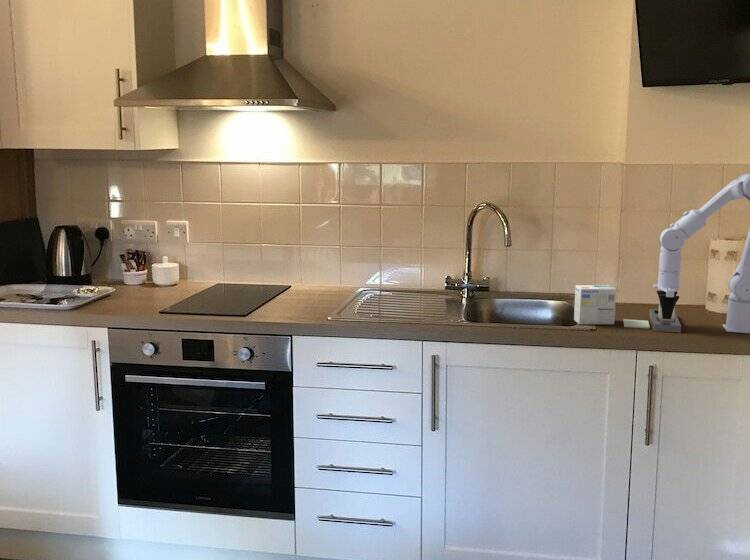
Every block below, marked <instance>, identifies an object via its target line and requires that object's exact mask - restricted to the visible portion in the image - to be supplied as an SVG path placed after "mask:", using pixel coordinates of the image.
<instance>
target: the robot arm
mask: <svg viewBox="0 0 750 560" xmlns="http://www.w3.org/2000/svg"><path fill="white" fill-rule="evenodd" d="M745 198H746V199H747V200H748V201H749V202H750V172H745V173H742V174H740V175H739V176H738V177H737V179H734V180H733V179H732V181H730V182H729V183H728V184H727V185H726V186H724V187H723V188H722V189H720V190H719V192H717V193H716V194H714V196H713V197H712V198H711V199H709V200H708V201H706V203H705V204H704V205H702V206H701V207H700V208H699V209H691V210H686V211H685V212H683V216H682V217H681V218H679V219H678V220H677V221H676V222H674V223H673V222H672V223H671V224H669V226H670V227H668V228H666V229H664V230H662V232H660V235H659V236H658V239H659V243H660V244H661V245H660V254H659V259H658V260H659V262H658V274H657V275H658V277H657V278H658V279H657V284H653V285H652V287H653V288H654V289H657V290H656V294H657V296H658V300H659V304H661V307H662V317H663V319H671V317H672V314H673V310H674V307H675V308H676V304H677V302H678V301H679V299H680V296H679V295H677V294H678V291H679V290H680V288H681V287H680V278H681V276H680V275H681V263H682V262H681V261H682V260H681V259H682V255H681V254H682V253H681V252H682V247H683V246H684V244H685V241H686V240H689V239H690V238H691V237H693V236H694V235H695V234H696V233H697V232H699V231H700V230H701V229H702V228H704V227H705V226H706V224H707V218H709V217H710V216H712V215H713V214H714V213H716V212H717V211H718V210H720V209H721V208H723V207H724V206H725V205H727V204H728V203H729V202H731V201H733V200H734V201H736V200H741V199H745ZM744 243H745V244H744V246H743V250H742V253H741V257H740V261H739V264H738V265H737V267H736V268H735V271H734V273H733V275H732V276H731V277H730V278H729V280H728V281H727V282H728V283H727V287H728V289H729V291H730V294H729V296H728V298H727V309H726V319H725V321H726V323H724V324H722V327H723V328H724V330H725V332H727V333H740V334H741V333H742V334H750V228H749V230H748V234H747V236H746V241H745V242H744Z"/></svg>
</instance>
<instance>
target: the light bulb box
mask: <svg viewBox="0 0 750 560" xmlns="http://www.w3.org/2000/svg"><path fill="white" fill-rule="evenodd" d="M616 298H617V288H616V287H613V286H612V285H610V284H591V285H589V284H586V285H585V284H584V285H582V284H580V285H578V284H576V285H574V309H573V311H574V313H573V320H574V322H576V323H577V324H578V325H615V319H616V318H615V317H616V303H617V299H616Z"/></svg>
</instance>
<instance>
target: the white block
mask: <svg viewBox="0 0 750 560" xmlns="http://www.w3.org/2000/svg"><path fill="white" fill-rule="evenodd" d="M658 309H659V311H658V321H667V322H674V313H675V314H676V311H675V310H676V306H675V307H674V310H673V314H672V317H671V319H663V317H662V307H661V304H660V303H659V304H658Z"/></svg>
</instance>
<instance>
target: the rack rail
mask: <svg viewBox="0 0 750 560" xmlns="http://www.w3.org/2000/svg"><path fill="white" fill-rule="evenodd" d="M658 311H659V308H657V309H656V308H655V309H654V308H650V309H649V314H648V315H649V318H650V322H651V325H652V327H653V328H652V329H653V331H654V332H661V333H675V332H677V333H678V334H681V333H682V332H681V331H682V325H681V322H680V319H679V318H678V316H677V313H676V312H675V313H674V322H667V321H658Z"/></svg>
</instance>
